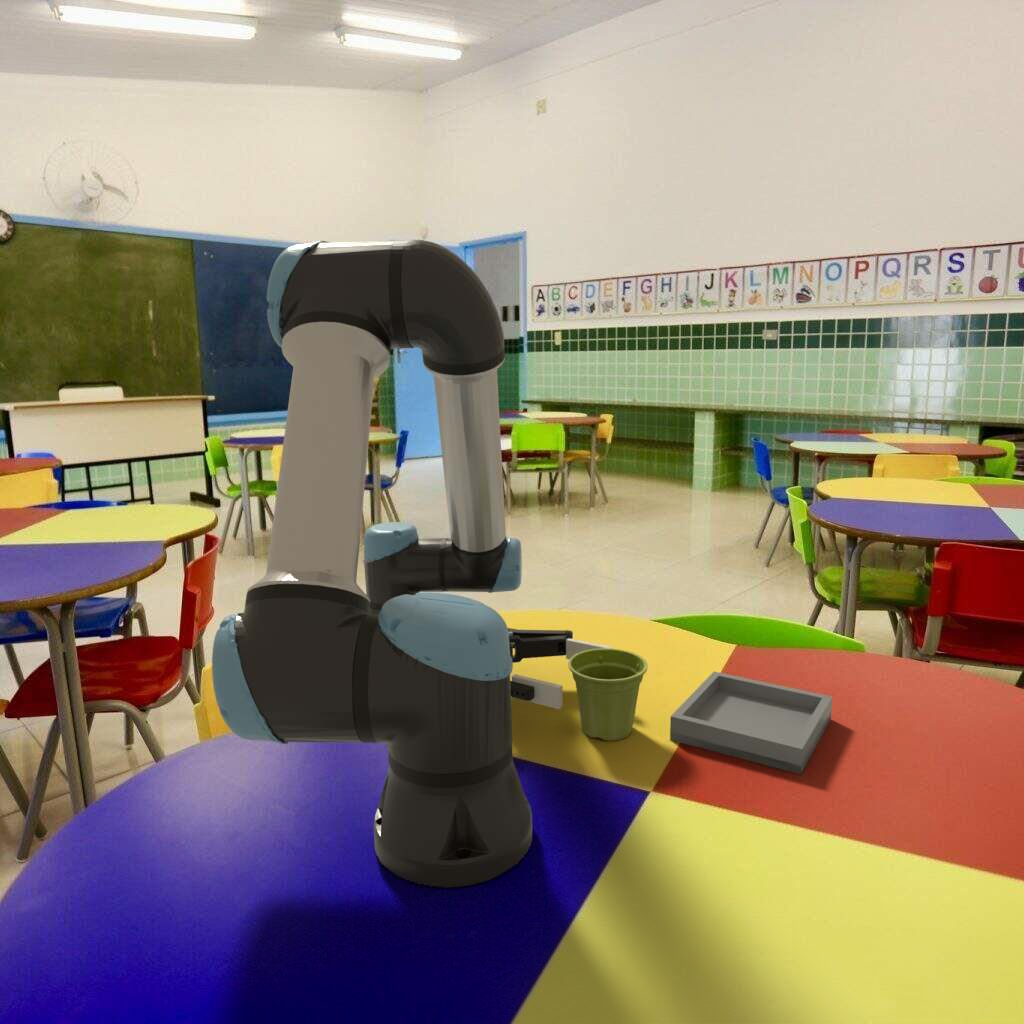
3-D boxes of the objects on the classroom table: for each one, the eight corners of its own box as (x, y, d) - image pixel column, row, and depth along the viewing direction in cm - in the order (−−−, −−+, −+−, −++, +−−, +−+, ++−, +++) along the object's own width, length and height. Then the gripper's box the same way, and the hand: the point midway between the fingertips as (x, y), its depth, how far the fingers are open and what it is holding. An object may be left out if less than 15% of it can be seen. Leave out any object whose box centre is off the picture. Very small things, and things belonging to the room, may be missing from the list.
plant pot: (661, 739, 96) (662, 671, 94) (590, 755, 92) (590, 685, 90) (622, 706, 104) (623, 643, 102) (555, 720, 101) (555, 655, 99)
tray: (800, 774, 87) (802, 749, 87) (670, 739, 96) (670, 716, 95) (831, 719, 100) (832, 696, 99) (713, 692, 108) (713, 671, 107)
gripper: (499, 641, 122) (629, 669, 111) (390, 705, 101) (536, 747, 90) (498, 593, 120) (629, 617, 109) (387, 649, 100) (535, 685, 88)
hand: (587, 676), depth 100 cm, fingers open, 13 cm apart
